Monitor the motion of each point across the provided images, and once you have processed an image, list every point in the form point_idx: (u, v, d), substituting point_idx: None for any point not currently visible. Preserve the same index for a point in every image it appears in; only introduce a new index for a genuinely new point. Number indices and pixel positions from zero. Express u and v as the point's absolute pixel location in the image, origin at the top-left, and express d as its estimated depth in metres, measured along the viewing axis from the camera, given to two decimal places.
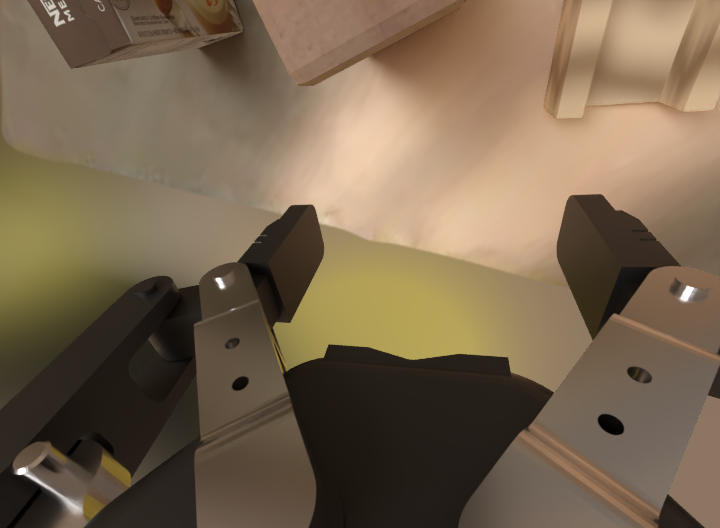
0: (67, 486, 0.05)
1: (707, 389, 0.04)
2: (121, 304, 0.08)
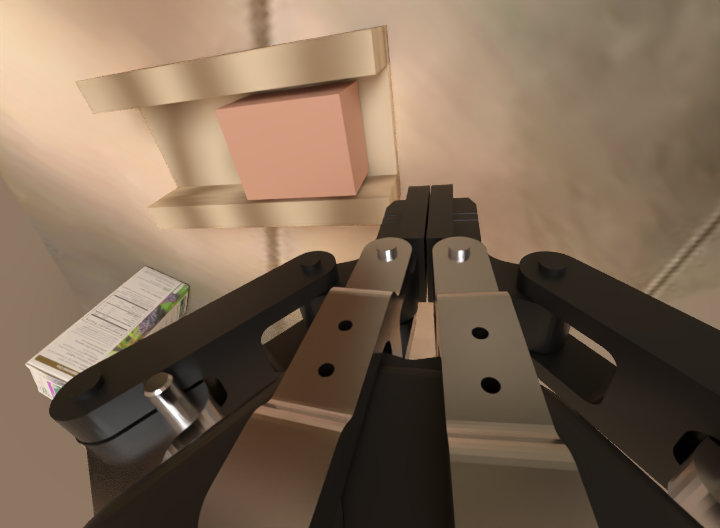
0: (173, 418, 0.06)
1: (517, 320, 0.05)
2: (287, 268, 0.08)
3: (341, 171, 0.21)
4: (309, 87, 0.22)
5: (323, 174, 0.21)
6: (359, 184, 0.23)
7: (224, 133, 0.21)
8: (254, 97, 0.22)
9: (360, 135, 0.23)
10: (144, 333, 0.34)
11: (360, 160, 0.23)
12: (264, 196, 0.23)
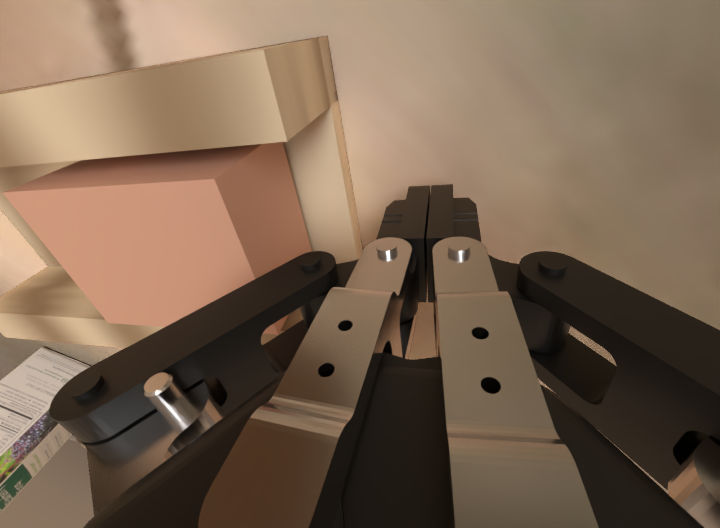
0: (173, 418, 0.06)
1: (517, 320, 0.05)
2: (287, 268, 0.08)
3: None
4: None
5: None
6: None
7: (34, 229, 0.12)
8: (104, 158, 0.13)
9: (291, 222, 0.13)
10: (20, 456, 0.25)
11: None
12: (132, 321, 0.14)
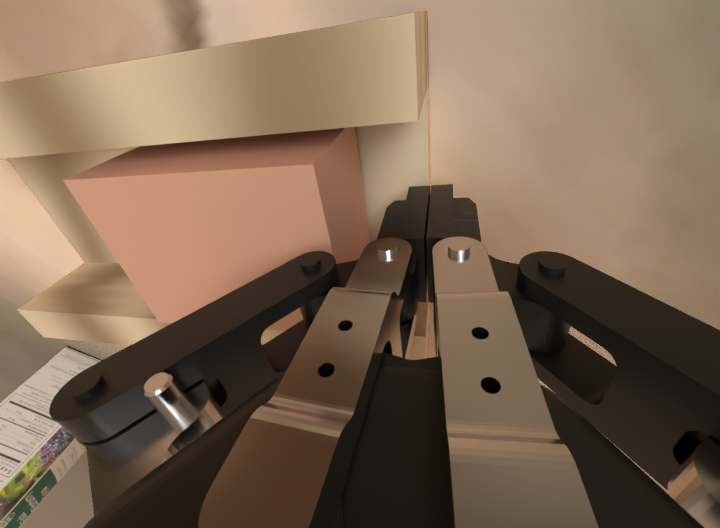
0: (172, 418, 0.06)
1: (517, 320, 0.05)
2: (287, 268, 0.08)
3: None
4: None
5: None
6: None
7: (93, 221, 0.11)
8: (162, 146, 0.12)
9: (359, 215, 0.12)
10: (49, 461, 0.24)
11: None
12: None
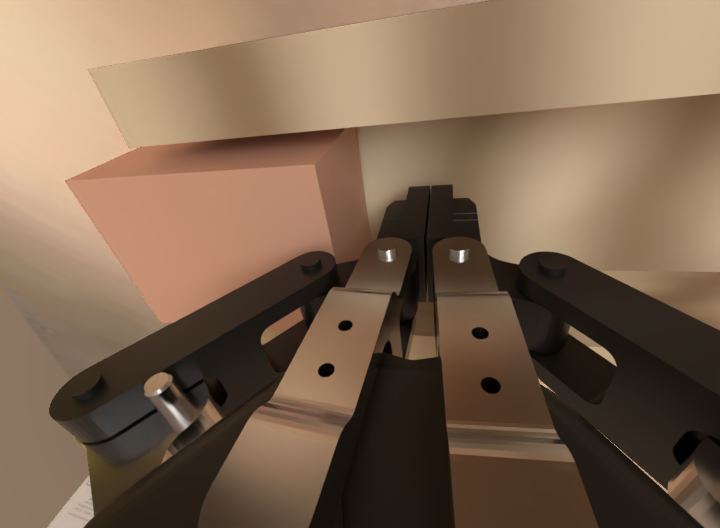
0: (172, 418, 0.06)
1: (517, 320, 0.05)
2: (287, 268, 0.08)
3: None
4: None
5: None
6: None
7: (95, 221, 0.11)
8: (163, 146, 0.12)
9: (360, 215, 0.12)
10: None
11: None
12: None
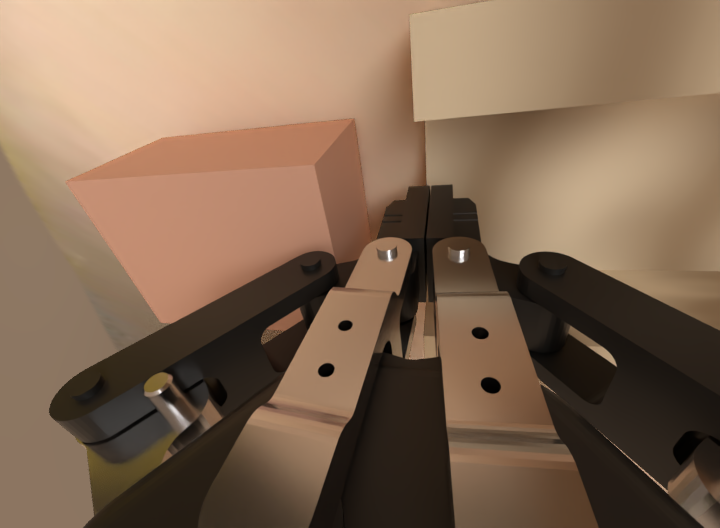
0: (173, 418, 0.06)
1: (517, 320, 0.05)
2: (287, 268, 0.08)
3: None
4: (266, 129, 0.12)
5: None
6: None
7: (95, 222, 0.11)
8: (163, 147, 0.12)
9: (360, 215, 0.12)
10: None
11: None
12: None
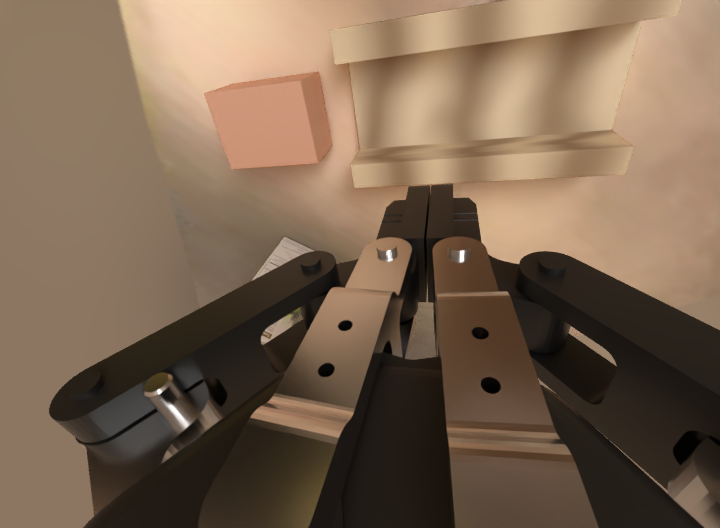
0: (172, 418, 0.06)
1: (517, 320, 0.05)
2: (287, 268, 0.08)
3: (306, 143, 0.27)
4: (281, 77, 0.28)
5: (291, 146, 0.27)
6: (321, 155, 0.28)
7: (212, 112, 0.27)
8: (236, 85, 0.28)
9: (322, 116, 0.28)
10: None
11: (322, 136, 0.28)
12: (245, 165, 0.29)
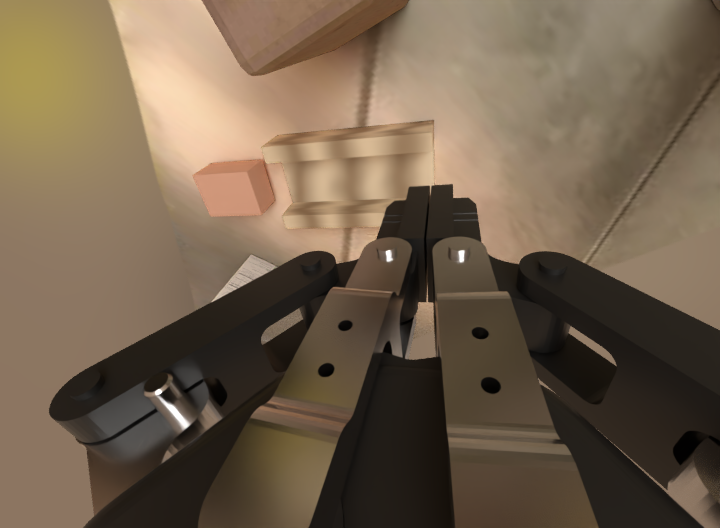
0: (173, 418, 0.06)
1: (517, 320, 0.05)
2: (287, 268, 0.08)
3: (253, 204, 0.44)
4: (240, 161, 0.46)
5: (245, 205, 0.45)
6: (265, 209, 0.46)
7: (197, 185, 0.44)
8: (212, 166, 0.46)
9: (265, 185, 0.46)
10: None
11: (265, 197, 0.46)
12: (218, 214, 0.47)
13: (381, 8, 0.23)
